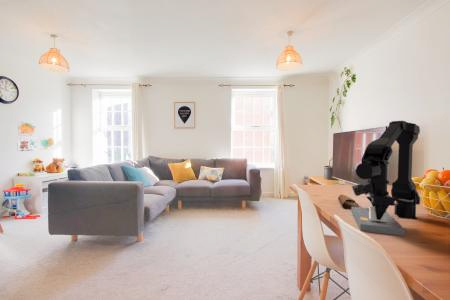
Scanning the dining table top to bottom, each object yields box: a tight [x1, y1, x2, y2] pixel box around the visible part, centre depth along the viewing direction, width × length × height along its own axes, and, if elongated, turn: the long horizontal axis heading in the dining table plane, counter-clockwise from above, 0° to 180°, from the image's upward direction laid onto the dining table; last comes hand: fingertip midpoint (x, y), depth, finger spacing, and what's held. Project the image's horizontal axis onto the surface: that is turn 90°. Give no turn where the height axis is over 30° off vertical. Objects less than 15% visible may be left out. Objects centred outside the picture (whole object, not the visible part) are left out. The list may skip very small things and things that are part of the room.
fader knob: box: [368, 205, 388, 222], centre depth 89 cm, size 5×3×5 cm, turn 69°
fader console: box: [350, 206, 405, 237], centre depth 95 cm, size 13×25×3 cm, turn 159°
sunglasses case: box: [337, 194, 360, 210], centre depth 122 cm, size 18×7×7 cm
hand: (377, 218), depth 89 cm, fingers closed on fader knob, 3 cm apart
